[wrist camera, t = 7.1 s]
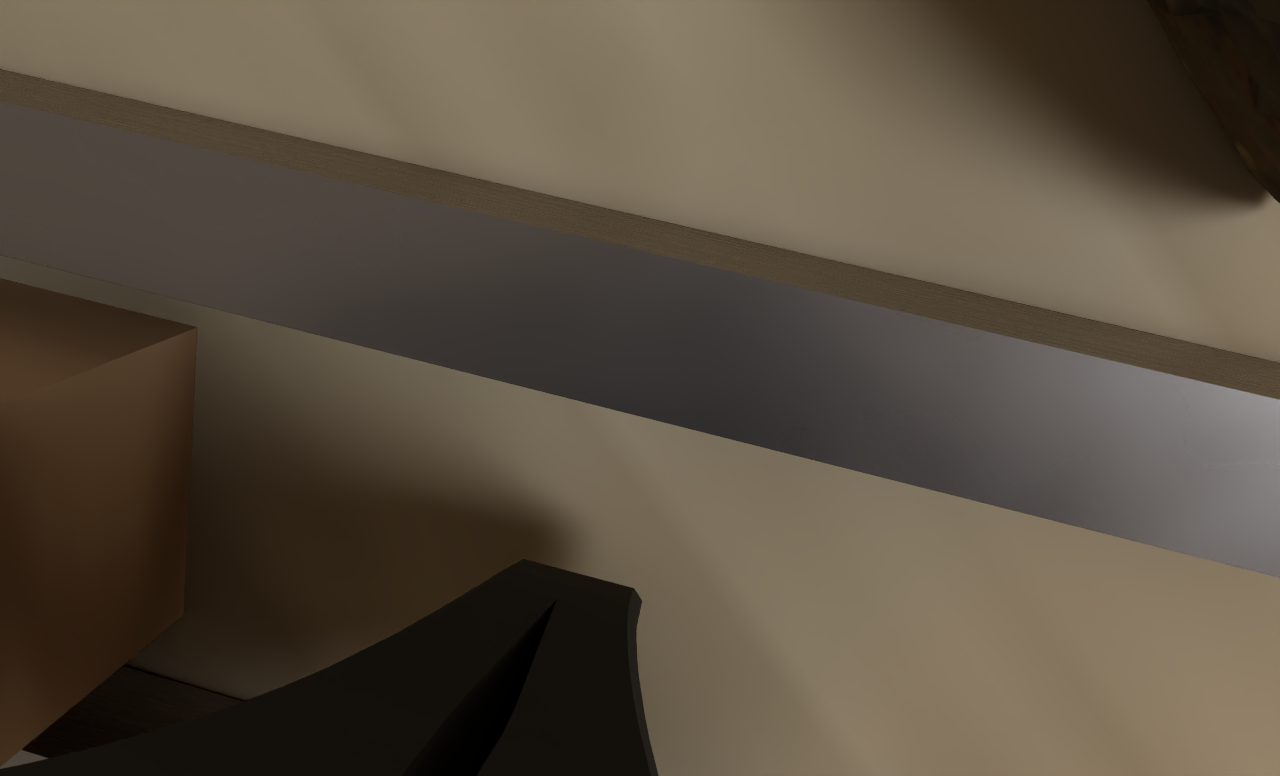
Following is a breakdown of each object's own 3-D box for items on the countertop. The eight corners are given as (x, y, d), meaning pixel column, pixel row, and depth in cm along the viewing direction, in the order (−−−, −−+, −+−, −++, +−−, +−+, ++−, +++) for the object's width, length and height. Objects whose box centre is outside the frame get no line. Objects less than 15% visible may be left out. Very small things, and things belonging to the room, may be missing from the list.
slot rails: (1109, 1061, 12) (1154, 1216, 11) (-497, 564, 15) (-667, 625, 13) (1434, 398, 10) (1565, 467, 8) (-625, -74, 12) (-860, -101, 10)
